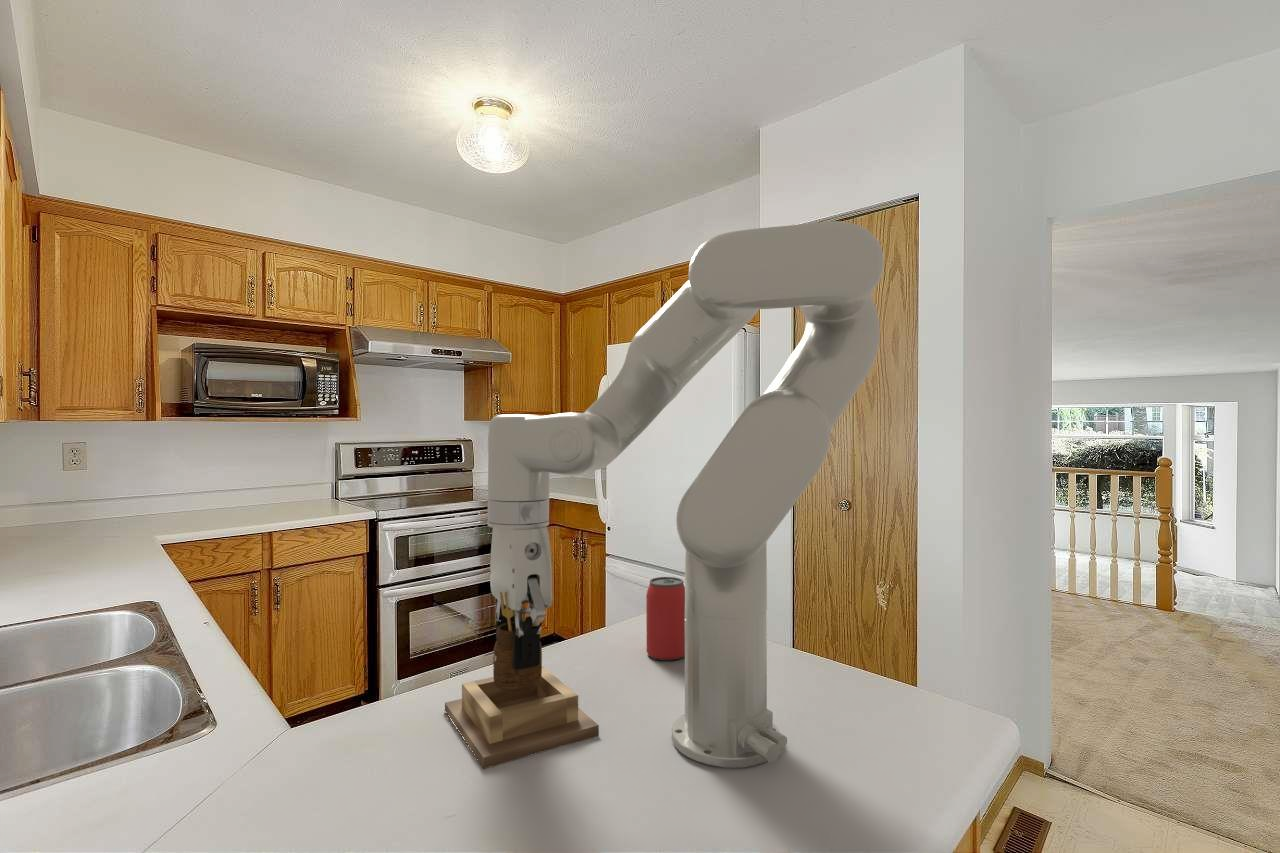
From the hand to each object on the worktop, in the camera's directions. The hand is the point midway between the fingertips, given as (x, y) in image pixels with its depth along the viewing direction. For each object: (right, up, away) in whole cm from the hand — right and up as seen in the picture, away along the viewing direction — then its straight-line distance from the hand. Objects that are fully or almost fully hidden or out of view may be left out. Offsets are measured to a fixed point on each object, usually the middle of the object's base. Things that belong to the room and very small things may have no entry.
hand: (517, 657), depth 78 cm
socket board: (0, -8, 0) cm, 8 cm away
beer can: (+20, -8, +24) cm, 32 cm away
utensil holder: (0, -3, 0) cm, 3 cm away
